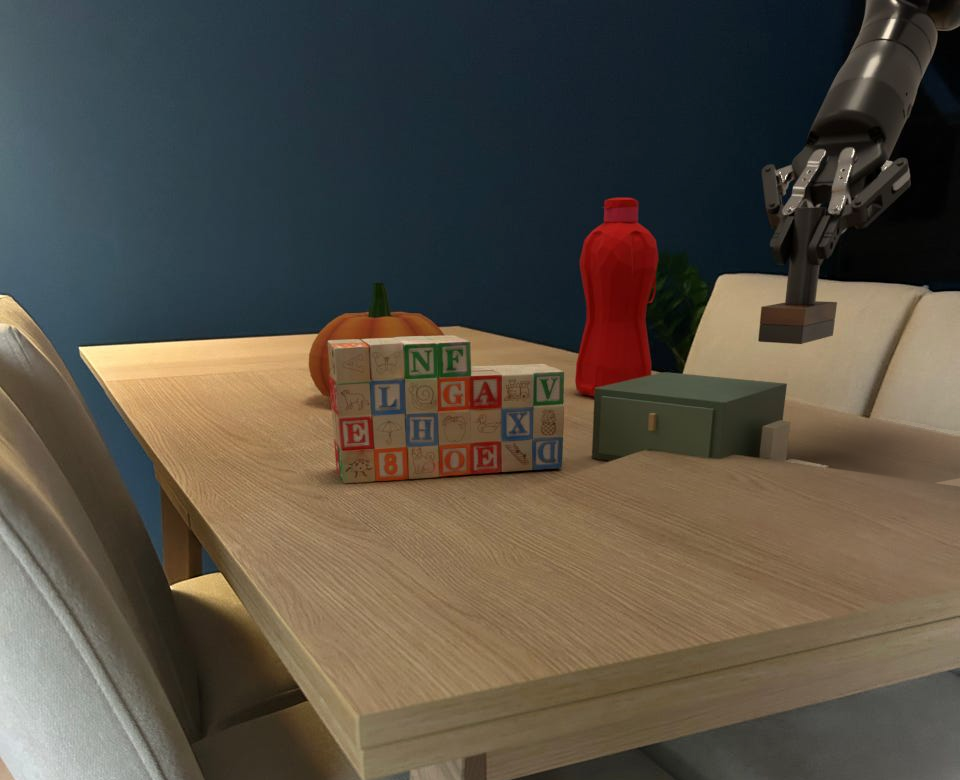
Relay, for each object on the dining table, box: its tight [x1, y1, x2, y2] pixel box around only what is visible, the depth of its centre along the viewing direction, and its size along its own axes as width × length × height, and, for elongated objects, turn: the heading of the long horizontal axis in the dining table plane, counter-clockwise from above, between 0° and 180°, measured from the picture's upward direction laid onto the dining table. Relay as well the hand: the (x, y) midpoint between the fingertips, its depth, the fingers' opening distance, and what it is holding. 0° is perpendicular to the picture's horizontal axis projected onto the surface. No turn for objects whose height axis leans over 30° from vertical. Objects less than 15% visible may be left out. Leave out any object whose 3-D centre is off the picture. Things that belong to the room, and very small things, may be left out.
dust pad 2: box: [782, 458, 829, 469], centre depth 90 cm, size 4×4×1 cm
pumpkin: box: [308, 282, 445, 398], centre depth 129 cm, size 19×19×15 cm
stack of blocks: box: [328, 334, 565, 484], centre depth 92 cm, size 21×6×12 cm, turn 104°
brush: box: [757, 206, 838, 345], centre depth 87 cm, size 8×4×11 cm, turn 142°
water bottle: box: [574, 197, 659, 398], centre depth 130 cm, size 9×11×25 cm
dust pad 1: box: [758, 420, 791, 462], centre depth 95 cm, size 4×4×1 cm
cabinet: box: [591, 371, 788, 462], centre depth 98 cm, size 14×15×7 cm
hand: (796, 257), depth 85 cm, fingers closed on brush, 2 cm apart
